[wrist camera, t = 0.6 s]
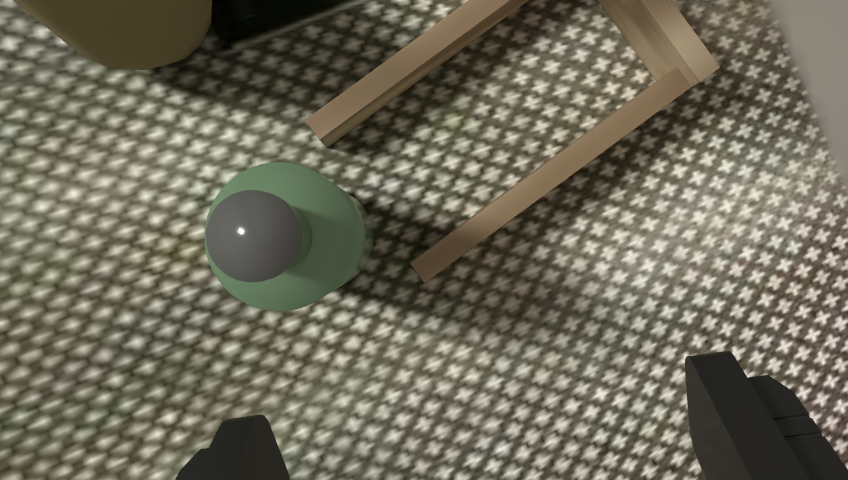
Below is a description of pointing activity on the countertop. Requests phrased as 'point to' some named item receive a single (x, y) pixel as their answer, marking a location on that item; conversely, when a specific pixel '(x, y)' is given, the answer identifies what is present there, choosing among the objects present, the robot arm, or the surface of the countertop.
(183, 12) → the squeeze bottle
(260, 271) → the bottle
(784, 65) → the countertop surface
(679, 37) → the u rest
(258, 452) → the robot arm
